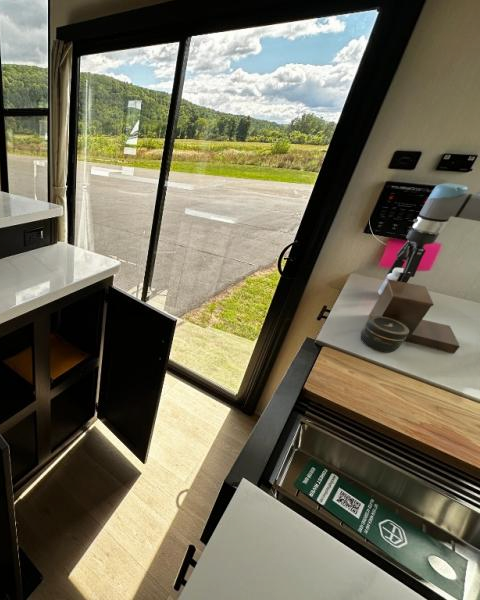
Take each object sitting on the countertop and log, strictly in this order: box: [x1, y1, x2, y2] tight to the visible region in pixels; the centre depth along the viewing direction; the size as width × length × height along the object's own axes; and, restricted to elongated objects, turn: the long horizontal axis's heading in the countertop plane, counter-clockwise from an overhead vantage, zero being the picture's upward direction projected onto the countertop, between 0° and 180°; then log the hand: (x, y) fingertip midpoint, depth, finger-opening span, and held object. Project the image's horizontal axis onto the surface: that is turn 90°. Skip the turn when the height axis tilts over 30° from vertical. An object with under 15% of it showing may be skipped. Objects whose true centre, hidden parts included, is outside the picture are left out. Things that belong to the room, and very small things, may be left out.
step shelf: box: [368, 279, 461, 354], centre depth 103 cm, size 20×12×15 cm, turn 56°
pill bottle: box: [378, 267, 410, 296], centre depth 123 cm, size 6×6×11 cm
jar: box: [359, 316, 409, 353], centre depth 101 cm, size 10×10×8 cm
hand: (394, 282), depth 123 cm, fingers open, 13 cm apart
